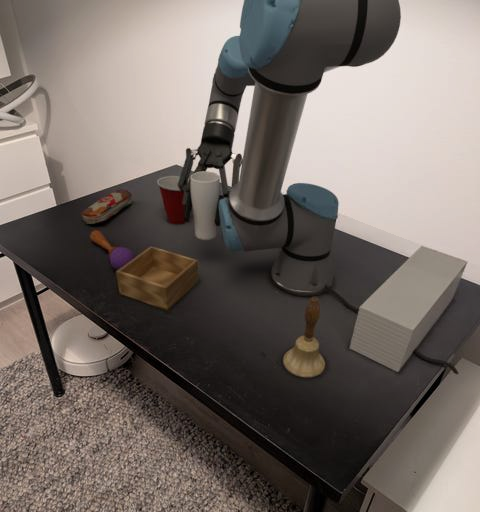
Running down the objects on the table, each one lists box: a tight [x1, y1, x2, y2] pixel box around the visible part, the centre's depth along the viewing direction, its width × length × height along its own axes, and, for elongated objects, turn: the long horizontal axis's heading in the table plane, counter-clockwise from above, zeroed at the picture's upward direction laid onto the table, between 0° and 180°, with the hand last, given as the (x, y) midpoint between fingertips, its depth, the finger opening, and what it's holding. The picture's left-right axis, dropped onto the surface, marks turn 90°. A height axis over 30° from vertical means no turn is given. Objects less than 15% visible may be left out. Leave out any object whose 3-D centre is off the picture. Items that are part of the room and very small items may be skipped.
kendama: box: [89, 230, 135, 271], centre depth 117 cm, size 6×6×20 cm
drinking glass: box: [189, 170, 221, 241], centre depth 107 cm, size 7×7×15 cm
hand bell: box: [282, 296, 326, 379], centre depth 85 cm, size 8×8×16 cm
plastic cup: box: [156, 175, 190, 225], centre depth 133 cm, size 11×11×12 cm
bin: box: [115, 245, 199, 311], centre depth 106 cm, size 13×13×6 cm
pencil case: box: [80, 188, 133, 225], centre depth 136 cm, size 11×20×5 cm, turn 145°
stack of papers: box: [349, 245, 468, 373], centre depth 98 cm, size 32×11×11 cm, turn 141°
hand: (201, 221), depth 106 cm, fingers closed on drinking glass, 7 cm apart
